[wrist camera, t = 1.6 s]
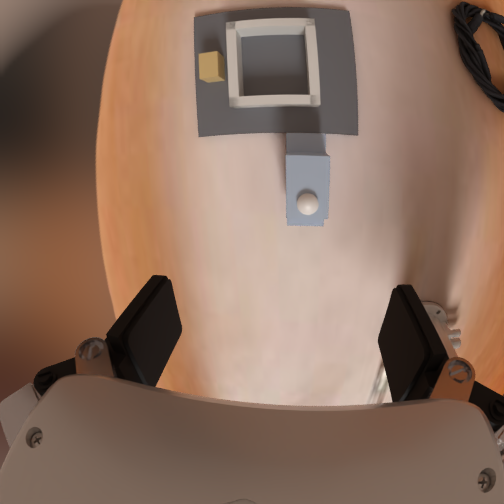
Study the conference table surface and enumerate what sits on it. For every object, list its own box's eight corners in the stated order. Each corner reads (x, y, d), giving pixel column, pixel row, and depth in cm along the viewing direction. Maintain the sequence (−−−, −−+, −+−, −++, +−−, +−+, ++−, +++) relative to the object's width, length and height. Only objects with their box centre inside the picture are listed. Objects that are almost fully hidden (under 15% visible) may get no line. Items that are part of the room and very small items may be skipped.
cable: (520, 122, 20) (538, 125, 16) (459, 99, 22) (478, 98, 18) (505, 26, 12) (520, 22, 8) (439, -7, 14) (452, -16, 11)
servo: (321, 133, 28) (330, 134, 21) (320, 215, 32) (327, 240, 25) (286, 132, 28) (284, 133, 22) (287, 214, 33) (286, 239, 26)
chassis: (347, 13, 20) (354, 1, 16) (356, 135, 27) (364, 136, 23) (196, 20, 23) (184, 9, 19) (201, 136, 30) (189, 138, 26)
